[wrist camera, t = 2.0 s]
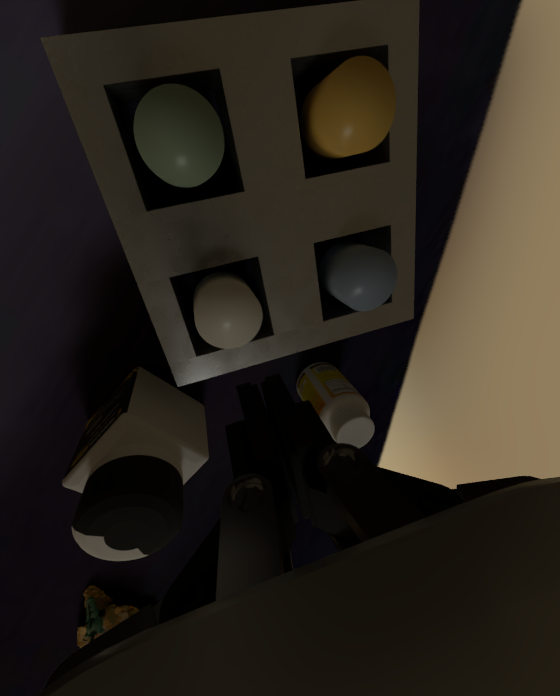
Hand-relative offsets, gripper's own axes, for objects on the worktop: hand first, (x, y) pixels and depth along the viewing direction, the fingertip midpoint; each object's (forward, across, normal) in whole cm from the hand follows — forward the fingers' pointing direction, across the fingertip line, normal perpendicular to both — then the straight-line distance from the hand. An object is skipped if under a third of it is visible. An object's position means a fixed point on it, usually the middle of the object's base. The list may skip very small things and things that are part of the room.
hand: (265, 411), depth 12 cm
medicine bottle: (+16, +9, +9) cm, 21 cm away
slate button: (+14, -10, 0) cm, 17 cm away
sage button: (+14, 0, -10) cm, 17 cm away
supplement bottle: (+16, -7, +11) cm, 21 cm away
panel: (+16, -5, -5) cm, 18 cm away
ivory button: (+14, 0, 0) cm, 14 cm away
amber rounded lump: (+14, -10, -10) cm, 20 cm away
